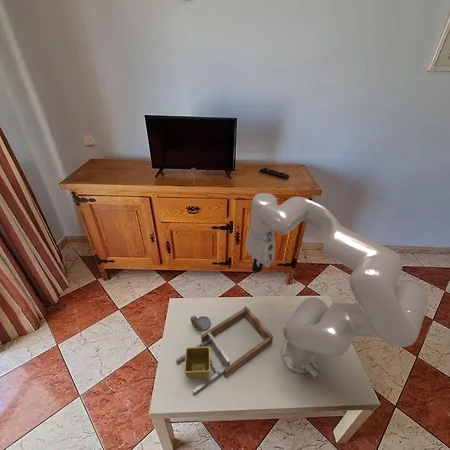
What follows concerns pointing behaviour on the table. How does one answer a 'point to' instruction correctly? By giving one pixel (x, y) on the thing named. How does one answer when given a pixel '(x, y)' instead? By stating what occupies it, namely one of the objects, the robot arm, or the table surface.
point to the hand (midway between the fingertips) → (256, 270)
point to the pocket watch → (201, 322)
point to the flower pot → (197, 362)
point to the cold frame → (254, 351)
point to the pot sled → (220, 355)
